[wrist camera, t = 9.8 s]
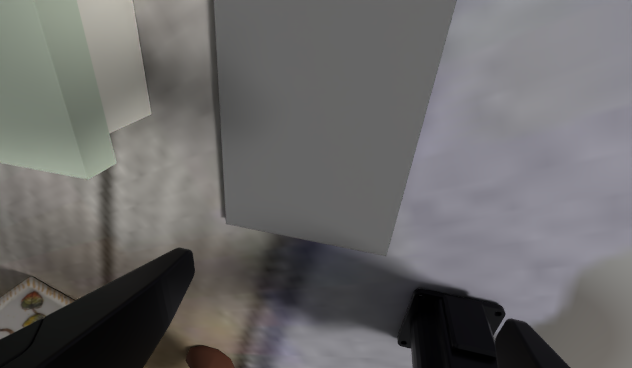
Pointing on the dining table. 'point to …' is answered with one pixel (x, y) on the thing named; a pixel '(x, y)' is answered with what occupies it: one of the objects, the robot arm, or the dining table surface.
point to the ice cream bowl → (207, 358)
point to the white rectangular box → (116, 60)
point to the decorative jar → (28, 305)
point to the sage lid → (50, 91)
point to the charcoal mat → (324, 112)
